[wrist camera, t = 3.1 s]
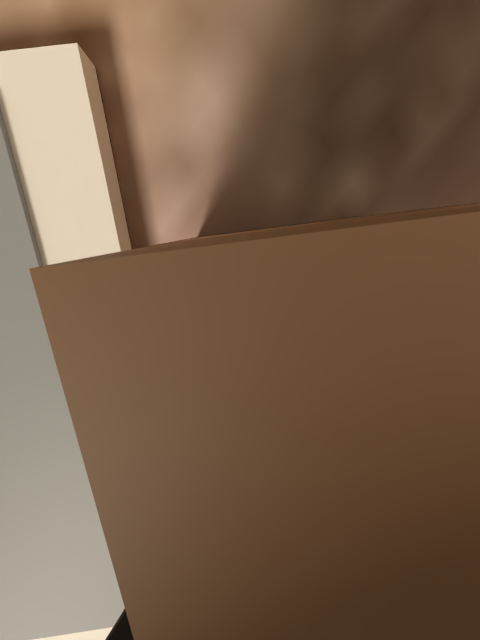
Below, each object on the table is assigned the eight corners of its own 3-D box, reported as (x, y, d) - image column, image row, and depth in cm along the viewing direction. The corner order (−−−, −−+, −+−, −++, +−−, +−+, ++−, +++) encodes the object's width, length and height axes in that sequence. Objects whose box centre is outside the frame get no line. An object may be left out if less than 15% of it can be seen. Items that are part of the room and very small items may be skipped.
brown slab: (368, 215, 9) (1378, 96, 1) (375, 565, 12) (662, 1174, 4) (197, 237, 9) (29, 267, 1) (249, 585, 12) (305, 1250, 4)
